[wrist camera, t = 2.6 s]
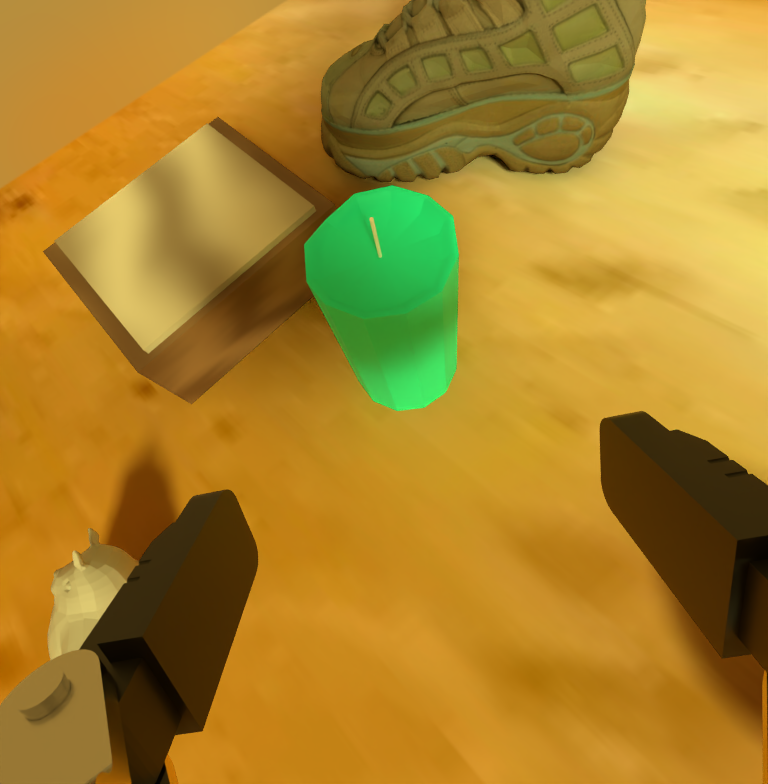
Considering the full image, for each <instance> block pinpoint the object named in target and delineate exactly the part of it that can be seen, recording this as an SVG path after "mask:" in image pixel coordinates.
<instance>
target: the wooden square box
mask: <svg viewBox="0 0 768 784" xmlns="http://www.w3.org/2000/svg"><path fill="white" fill-rule="evenodd" d="M336 210H337V209H336V206H335V204H334V203H332V202H331V201H330V200H328V199H327V198H326V197H324V196H323V195H322V194H320V193H319V192H318V191H316V190H315V189H314V188H312V187H311V186H310V185H308V184H307V183H306V182H304V181H303V180H302V179H300V178H299V177H298V176H296V175H295V174H294V173H292V172H291V171H290V170H288V169H287V168H286V167H284V166H283V165H282V164H280V163H279V162H277V161H276V160H275V159H273V158H272V157H271V156H269V155H268V154H267V153H265V152H264V151H263V150H261V149H260V148H259V147H257V146H256V145H255V144H253V143H252V142H251V141H249V140H248V139H247V138H245V137H244V136H243V135H241V134H240V133H239V132H237V131H236V130H235V129H233V128H232V127H231V126H229V125H228V124H227V123H225V122H224V121H223V120H221V119H220V118H219V117H217V118H216V119H214V120H213V121H212V122H211V123H209V124H206V125H204V126H203V127H202V128H201V129H199V130H198V131H197V132H195V133H194V134H193V135H191V136H190V137H189V138H188V139H186V140H185V141H184V142H182V143H181V144H180V145H178V146H177V147H176V148H175V149H173V150H172V151H171V152H169V153H168V154H167V155H166V156H164V157H163V158H162V159H160V160H159V161H158V162H156V163H155V164H154V165H153V166H151V167H150V168H149V169H147V170H146V171H145V172H143V173H142V174H141V175H140V176H138V177H137V178H136V179H134V180H133V181H132V182H130V183H129V184H128V185H127V186H125V187H124V188H123V189H121V190H120V191H119V192H117V193H116V194H115V195H114V196H112V197H111V198H110V199H108V200H107V201H106V202H104V203H103V204H102V205H101V206H99V207H98V208H97V209H95V210H94V211H93V212H91V213H90V214H89V215H88V216H86V217H85V218H84V219H82V220H81V221H80V222H78V223H77V224H76V225H75V226H73V227H72V228H71V229H69V230H68V231H67V232H65V233H64V234H63V235H62V236H60V237H59V238H58V239H56V240H55V243H54V244H52V245H51V246H50V247H48V248H47V249H46V250H44V251H43V252H44V253H45V255H46V256H47V257H48V259H49V260H50V261H51V262H52V264H53V265H54V266H55V267H56V269H57V270H58V271H59V273H60V274H61V275H62V276H63V278H64V279H65V280H66V281H67V283H68V284H69V285H70V287H71V288H72V289H73V290H74V292H75V293H76V294H77V295H78V297H79V298H80V299H81V301H82V302H83V303H84V304H85V306H86V307H87V308H88V309H89V311H90V312H91V313H92V315H93V316H94V317H95V318H96V320H97V321H98V322H99V324H100V325H101V326H102V327H103V329H104V330H105V331H106V332H107V334H108V335H109V336H110V338H111V339H112V340H113V341H114V343H115V344H116V345H117V346H118V348H119V349H120V350H121V352H122V353H123V354H124V355H125V357H126V358H127V359H128V360H129V362H130V363H131V364H132V366H133V367H134V368H135V369H136V371H137V372H138V373H140V374H141V375H143V376H145V377H146V378H148V379H150V380H152V381H153V382H155V383H157V384H158V385H160V386H162V387H163V388H165V389H167V390H168V391H170V392H172V393H174V394H175V395H177V396H179V397H180V398H182V399H184V400H185V401H187V402H189V403H191V404H192V403H193V402H194V401H196V400H197V399H198V398H199V397H200V396H201V395H202V394H203V393H205V392H206V391H207V390H208V389H209V388H210V387H211V386H212V385H214V384H215V383H216V382H217V381H218V380H219V379H220V378H221V377H223V376H224V375H225V374H226V373H227V372H228V371H229V370H230V369H232V368H233V367H234V366H235V365H236V364H237V363H238V362H240V361H241V360H242V359H243V358H244V357H245V356H246V355H247V354H249V353H250V352H251V351H252V350H253V349H254V348H255V347H256V346H258V345H259V344H260V343H261V342H262V341H263V340H264V339H265V338H267V337H268V336H269V335H270V334H271V333H272V332H273V331H274V330H276V329H277V328H278V327H279V326H280V325H281V324H282V323H283V322H285V321H286V320H287V319H288V318H289V317H290V316H291V315H292V314H294V313H295V312H296V311H297V310H298V309H299V308H300V307H301V306H303V305H304V304H305V303H306V302H307V301H308V300H309V299H311V298H312V297H313V296H314V295H313V293H312V291H311V289H310V287H309V286H308V284H307V282H306V267H305V252H304V244H305V243H306V242H307V240H308V239H309V238H310V237H311V236H312V235H313V233H314V232H315V231H316V230H317V229H318V228H319V226H320V225H321V224H322V223H323V222H324V221H325V220H326V219H327V218H328V217H329V216H330V215H331V214H332V213H333V212H335V211H336Z"/></svg>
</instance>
